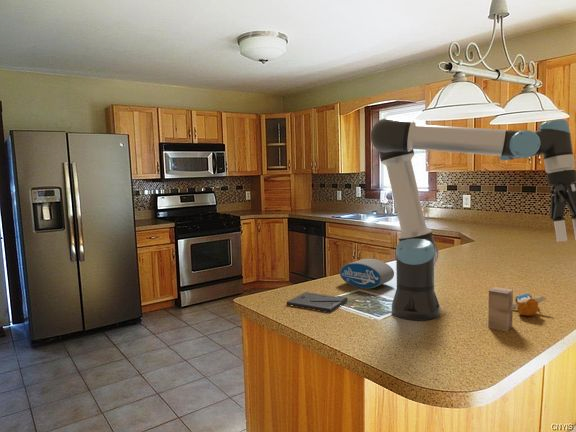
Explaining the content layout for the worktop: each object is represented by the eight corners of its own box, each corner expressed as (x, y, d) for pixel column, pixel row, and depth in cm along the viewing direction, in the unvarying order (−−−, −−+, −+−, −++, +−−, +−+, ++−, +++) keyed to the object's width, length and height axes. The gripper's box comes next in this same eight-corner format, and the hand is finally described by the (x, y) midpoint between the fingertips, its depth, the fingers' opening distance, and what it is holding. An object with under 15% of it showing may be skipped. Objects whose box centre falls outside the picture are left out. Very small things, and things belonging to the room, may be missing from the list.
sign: (394, 285, 166) (393, 261, 165) (381, 291, 159) (381, 266, 158) (353, 278, 179) (352, 256, 178) (339, 284, 172) (339, 260, 171)
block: (494, 322, 123) (494, 286, 122) (512, 326, 120) (513, 289, 119) (488, 327, 120) (488, 290, 118) (507, 331, 116) (507, 293, 115)
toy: (539, 285, 136) (545, 293, 122) (547, 303, 135) (554, 313, 121) (501, 295, 141) (503, 304, 127) (508, 313, 140) (511, 323, 126)
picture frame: (347, 303, 149) (305, 296, 159) (347, 297, 149) (305, 291, 158) (330, 314, 138) (286, 306, 148) (330, 308, 138) (286, 300, 147)
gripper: (594, 162, 111) (607, 240, 109) (558, 175, 135) (568, 240, 134) (563, 166, 113) (575, 243, 111) (533, 178, 137) (542, 242, 135)
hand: (571, 241), depth 122 cm, fingers open, 13 cm apart
